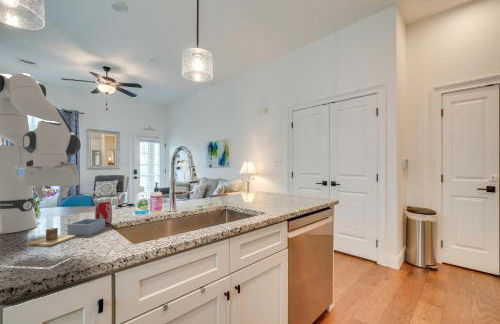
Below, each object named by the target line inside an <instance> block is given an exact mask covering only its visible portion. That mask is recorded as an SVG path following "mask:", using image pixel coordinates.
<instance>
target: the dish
mask: <svg viewBox="0 0 500 324" xmlns="http://www.w3.org/2000/svg"><path fill="white" fill-rule="evenodd" d="M104 230H106V226H105V219H95V218H85V219H81V220H77V221H74V222H72V223H71V222H70V223H67V235H76V236H91V235H94V234H96V233H98V232H99V233H100V232H101V231H104Z"/></svg>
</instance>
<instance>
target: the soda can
mask: <svg viewBox="0 0 500 324" xmlns="http://www.w3.org/2000/svg"><path fill="white" fill-rule="evenodd" d="M112 206H113V205H112V202H111V200H108V199H105V200H104V199H103V200H97V201H96V203H95V205H94V219H105V227H108V226H110V225H111V224H112V222H113V214H112V213H113V207H112Z"/></svg>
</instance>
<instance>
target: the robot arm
mask: <svg viewBox="0 0 500 324" xmlns="http://www.w3.org/2000/svg"><path fill="white" fill-rule="evenodd" d="M46 96H47V89H46V87H45V85H44V84H43V83H41V82H39V81H37V80H36V79H35V77H33V76H32V75H30V74H28V73H22V72H18V73H17V72H16V73H14V74H5V73H0V138H2V139H3V140H6V141H8V142H10V143H12V145H0V235H3V234H11V233H18V232H23V231H28V230H32V229H35V228H37V227H38V224H39V222H38V221H37V218H36V210H35V208H34V205H35V199H34V197H33V196H34V195H33V188H34V191H35V192H36V194H37V198H38V199H43V198H46V193H45V192H44V191H43V189H44V187H61V189H62V192H61V193H59V199H66V198H68V193H69V191H70V190H71V187H73V186H74V187H76V186H78V185H79V184H80V174H79V170H78V165H77V164H76V163H75V162H74V161H67V159H68V157H72V156H74V155H76V154H77V153H79V151H80V150H81V146H82V145H81V144H82V143H81V140H80V139H79V137H78V135H77V134H76V133H75V132H74V131H73V130H72V128H71V127H70V125H69V123H68V122H67V120H66V118H65V117H64V115H63V113H62V112H61V110H60V109H59V108H58V107H56V106H55V105H53V104H52V103H51V102H50V101H49V100H48V99H47V97H46ZM28 116H30V117H34V118H37V119H40V120H39V121H38V124H37V127H36V128H35V129H33V130H30V126H29V119H28ZM16 170H24V173H23V174H24V175H23V176H21V175H18V174H17V171H16Z"/></svg>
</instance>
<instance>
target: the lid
mask: <svg viewBox="0 0 500 324" xmlns="http://www.w3.org/2000/svg"><path fill="white" fill-rule="evenodd" d="M75 237H76V238H77V235H68V234H58V227H51V228H47V229H45V236H44V237H41V238H37V239H35V240H32V241H28V242H26V243H25V245H26V246H25V247H40V246H52V247H54V245H55V246H57V245H56V244H58V245H60V244H63V243H64V241H65V242H67V240H68V241H70V239H71V240H73V239H75ZM72 238H73V239H72ZM62 242H63V243H62ZM59 243H60V244H59Z"/></svg>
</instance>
